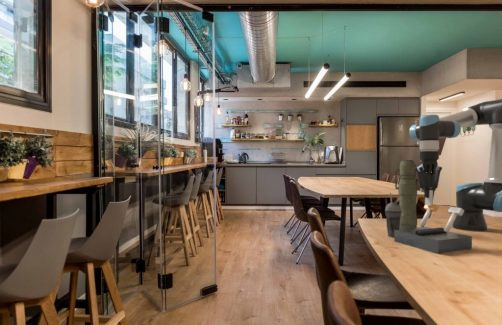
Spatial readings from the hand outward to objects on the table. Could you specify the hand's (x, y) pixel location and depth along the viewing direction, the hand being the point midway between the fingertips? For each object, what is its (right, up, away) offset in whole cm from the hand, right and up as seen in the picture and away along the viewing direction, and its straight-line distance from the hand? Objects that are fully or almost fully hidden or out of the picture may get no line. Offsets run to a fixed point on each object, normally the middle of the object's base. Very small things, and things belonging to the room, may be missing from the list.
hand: (428, 205), depth 153 cm
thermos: (+3, -16, +27) cm, 31 cm away
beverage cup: (-12, -16, +9) cm, 22 cm away
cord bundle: (-3, -11, -8) cm, 13 cm away
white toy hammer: (0, -9, -13) cm, 16 cm away
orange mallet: (-4, -9, -2) cm, 10 cm away
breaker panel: (-3, -16, -8) cm, 17 cm away
